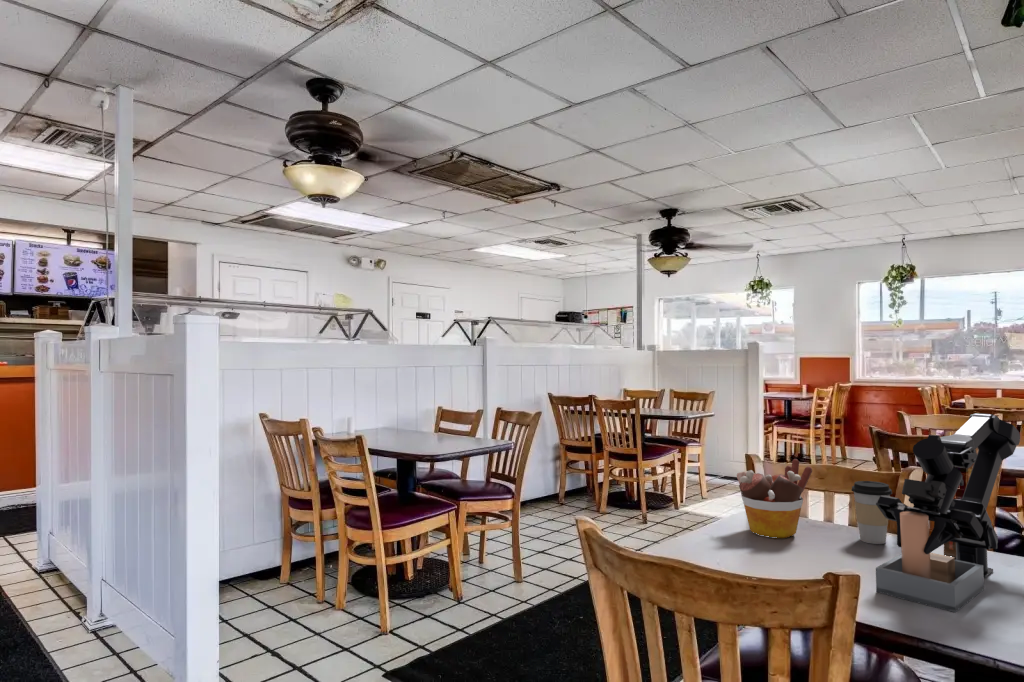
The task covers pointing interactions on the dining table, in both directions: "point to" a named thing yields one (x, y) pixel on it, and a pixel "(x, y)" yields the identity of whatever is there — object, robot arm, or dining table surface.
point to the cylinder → (915, 544)
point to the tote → (931, 585)
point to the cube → (942, 568)
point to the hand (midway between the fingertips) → (911, 549)
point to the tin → (950, 549)
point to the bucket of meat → (773, 500)
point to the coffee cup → (870, 510)
